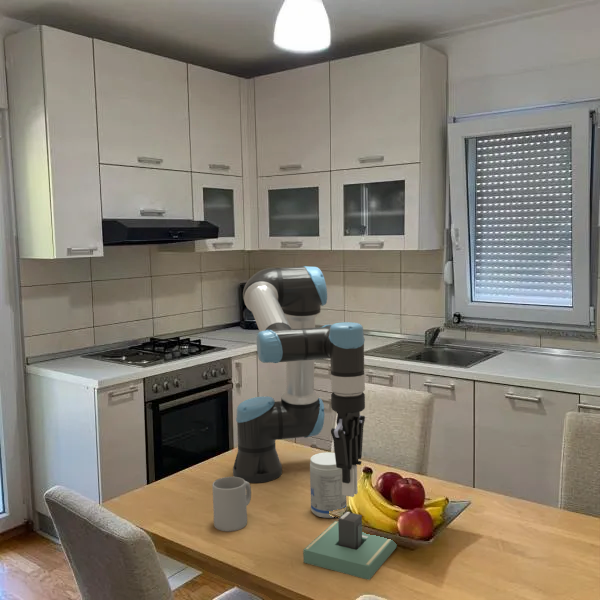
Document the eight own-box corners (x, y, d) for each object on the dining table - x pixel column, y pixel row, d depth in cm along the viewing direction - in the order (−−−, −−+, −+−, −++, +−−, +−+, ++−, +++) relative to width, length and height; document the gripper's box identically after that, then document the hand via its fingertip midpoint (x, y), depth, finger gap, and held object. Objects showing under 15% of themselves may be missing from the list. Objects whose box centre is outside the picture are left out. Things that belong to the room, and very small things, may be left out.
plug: (346, 548, 148) (345, 510, 147) (363, 552, 146) (362, 514, 145) (339, 556, 144) (338, 517, 143) (356, 560, 142) (355, 521, 141)
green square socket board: (335, 532, 156) (335, 520, 156) (396, 546, 148) (396, 534, 148) (303, 562, 142) (303, 549, 142) (369, 579, 134) (368, 566, 134)
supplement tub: (308, 505, 172) (306, 453, 170) (342, 502, 174) (340, 450, 172) (314, 521, 162) (313, 465, 161) (350, 517, 164) (349, 462, 163)
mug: (231, 534, 156) (229, 492, 155) (206, 526, 161) (205, 484, 160) (262, 516, 166) (261, 476, 165) (238, 509, 171) (237, 469, 170)
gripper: (346, 383, 149) (348, 480, 151) (318, 397, 137) (320, 502, 139) (375, 386, 145) (377, 485, 148) (349, 401, 133) (351, 509, 136)
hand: (349, 493), depth 144 cm, fingers closed
